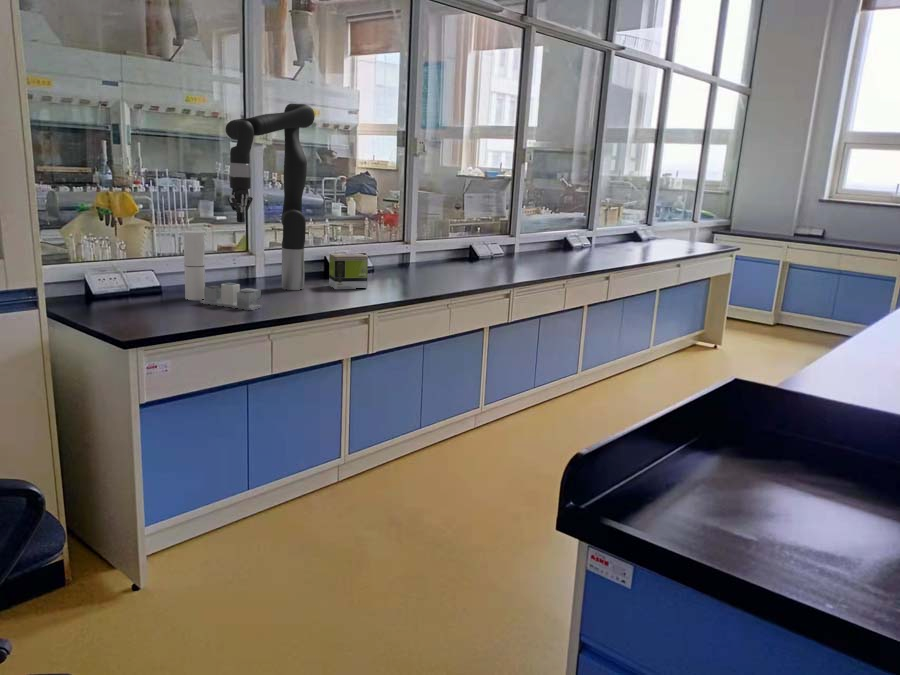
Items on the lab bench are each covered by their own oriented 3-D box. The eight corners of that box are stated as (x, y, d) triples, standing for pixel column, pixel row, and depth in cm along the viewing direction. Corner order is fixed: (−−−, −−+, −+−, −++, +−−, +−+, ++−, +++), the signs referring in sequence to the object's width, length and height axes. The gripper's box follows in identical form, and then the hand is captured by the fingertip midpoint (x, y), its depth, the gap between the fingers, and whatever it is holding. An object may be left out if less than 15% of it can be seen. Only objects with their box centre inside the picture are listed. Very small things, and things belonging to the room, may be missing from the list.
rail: (210, 300, 258) (210, 284, 257) (261, 308, 252) (261, 291, 250) (200, 303, 253) (200, 286, 251) (251, 310, 246) (251, 293, 245)
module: (228, 301, 255) (228, 282, 253) (239, 303, 253) (239, 283, 251) (221, 303, 251) (221, 283, 249) (233, 304, 250) (232, 285, 248)
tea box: (361, 285, 312) (362, 253, 309) (367, 289, 303) (368, 256, 300) (328, 285, 306) (329, 252, 303) (333, 289, 297) (334, 255, 294)
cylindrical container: (186, 300, 256) (184, 233, 250) (184, 296, 262) (182, 230, 256) (206, 300, 259) (205, 233, 253) (203, 296, 265) (202, 231, 259)
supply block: (248, 296, 272) (248, 287, 271) (260, 298, 270) (260, 289, 269) (238, 298, 266) (238, 290, 266) (251, 300, 264) (251, 291, 264)
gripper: (242, 175, 265) (242, 220, 270) (220, 174, 253) (221, 222, 257) (259, 176, 263) (259, 222, 267) (237, 176, 251) (238, 224, 255)
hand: (240, 222), depth 262 cm, fingers closed
